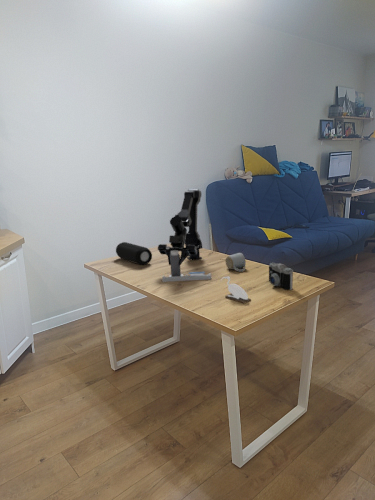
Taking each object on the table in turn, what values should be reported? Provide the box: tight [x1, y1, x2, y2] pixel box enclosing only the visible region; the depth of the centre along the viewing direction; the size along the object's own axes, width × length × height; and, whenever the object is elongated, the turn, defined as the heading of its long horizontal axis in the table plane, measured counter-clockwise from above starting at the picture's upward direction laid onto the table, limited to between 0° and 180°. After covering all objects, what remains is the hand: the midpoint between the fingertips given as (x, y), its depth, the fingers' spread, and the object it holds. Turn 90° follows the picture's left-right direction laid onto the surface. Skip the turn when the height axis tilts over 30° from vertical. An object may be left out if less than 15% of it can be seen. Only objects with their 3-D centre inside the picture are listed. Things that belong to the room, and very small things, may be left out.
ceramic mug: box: [225, 252, 247, 272], centre depth 182 cm, size 11×8×8 cm
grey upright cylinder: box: [170, 250, 182, 277], centre depth 172 cm, size 5×5×13 cm
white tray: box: [161, 271, 212, 283], centre depth 174 cm, size 23×12×2 cm, turn 91°
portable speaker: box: [115, 241, 153, 266], centre depth 206 cm, size 26×10×10 cm, turn 41°
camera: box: [268, 262, 294, 291], centre depth 156 cm, size 15×7×10 cm, turn 21°
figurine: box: [220, 275, 252, 305], centre depth 145 cm, size 14×4×9 cm, turn 42°
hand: (174, 264), depth 171 cm, fingers closed on grey upright cylinder, 5 cm apart
